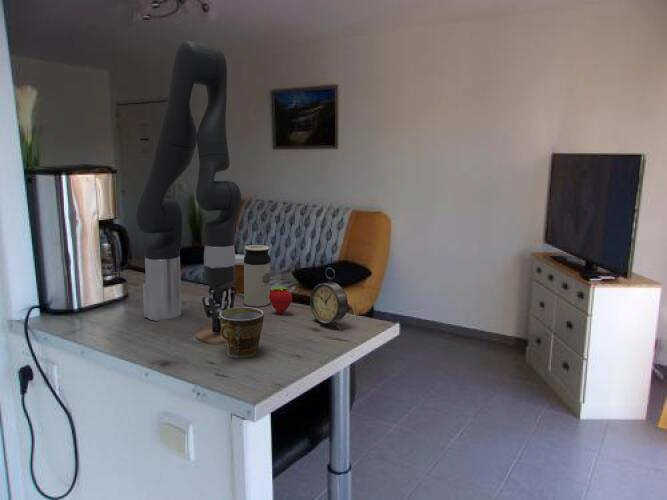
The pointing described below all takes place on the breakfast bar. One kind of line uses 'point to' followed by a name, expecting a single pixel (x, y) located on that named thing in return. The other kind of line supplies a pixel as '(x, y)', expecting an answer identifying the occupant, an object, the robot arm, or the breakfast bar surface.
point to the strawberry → (280, 299)
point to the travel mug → (256, 276)
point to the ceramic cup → (241, 330)
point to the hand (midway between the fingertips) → (220, 329)
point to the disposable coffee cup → (239, 273)
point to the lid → (209, 335)
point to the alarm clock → (328, 302)
